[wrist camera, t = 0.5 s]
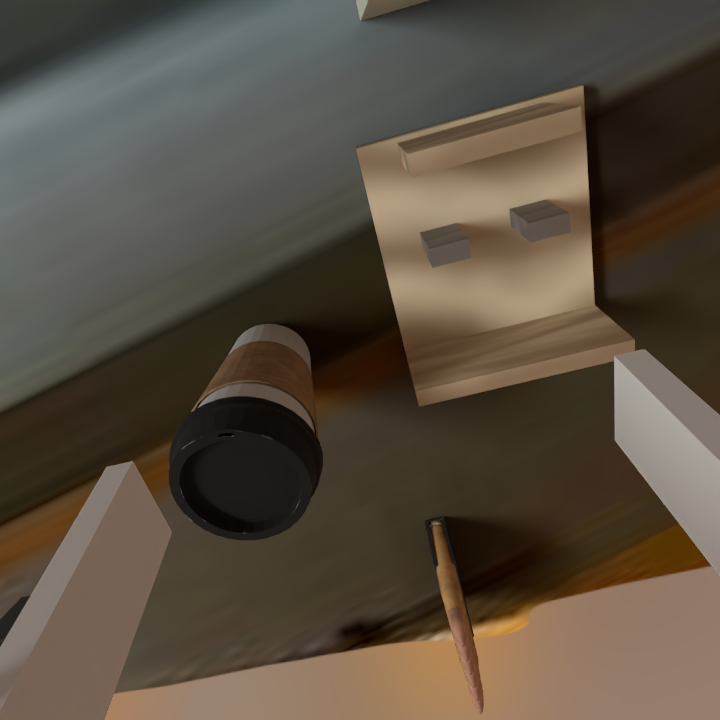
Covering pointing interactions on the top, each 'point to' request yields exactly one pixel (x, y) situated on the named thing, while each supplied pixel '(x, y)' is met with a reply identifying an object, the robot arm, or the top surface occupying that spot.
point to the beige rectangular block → (382, 7)
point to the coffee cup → (251, 440)
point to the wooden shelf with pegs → (491, 246)
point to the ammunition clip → (455, 605)
